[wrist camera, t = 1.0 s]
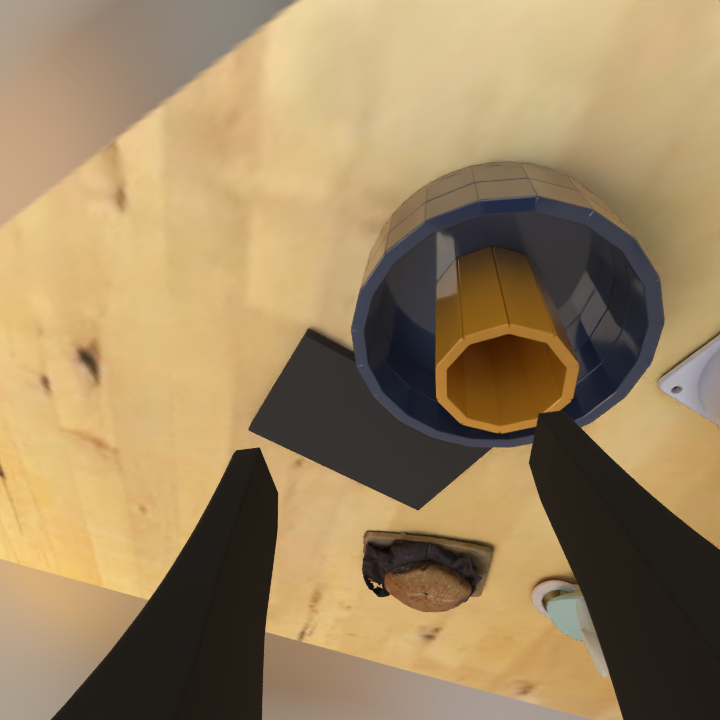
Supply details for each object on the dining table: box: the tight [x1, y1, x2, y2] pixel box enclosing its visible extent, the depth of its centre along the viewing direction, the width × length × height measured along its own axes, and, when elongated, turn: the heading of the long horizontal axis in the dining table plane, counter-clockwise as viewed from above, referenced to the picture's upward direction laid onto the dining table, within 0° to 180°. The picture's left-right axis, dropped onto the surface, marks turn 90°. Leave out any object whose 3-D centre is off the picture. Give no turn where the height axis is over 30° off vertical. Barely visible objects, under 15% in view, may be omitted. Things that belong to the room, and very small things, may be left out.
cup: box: [435, 246, 579, 433], centre depth 21 cm, size 5×6×7 cm
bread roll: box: [362, 531, 493, 612], centre depth 39 cm, size 11×8×4 cm
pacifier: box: [531, 580, 609, 677], centre depth 38 cm, size 7×6×6 cm
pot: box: [351, 162, 665, 448], centre depth 22 cm, size 13×13×5 cm
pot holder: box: [249, 329, 493, 510], centre depth 31 cm, size 14×10×1 cm
